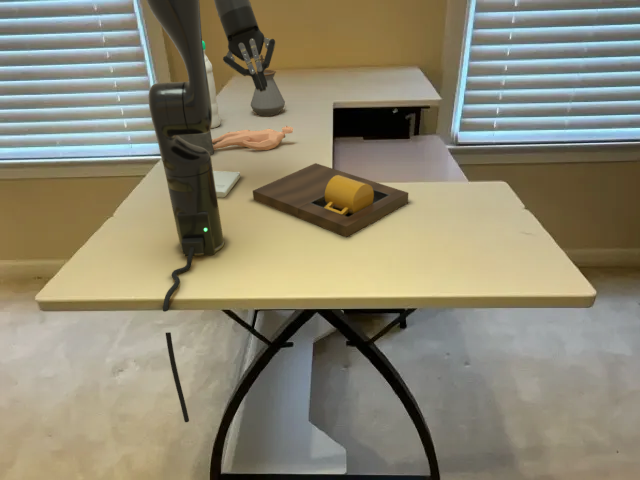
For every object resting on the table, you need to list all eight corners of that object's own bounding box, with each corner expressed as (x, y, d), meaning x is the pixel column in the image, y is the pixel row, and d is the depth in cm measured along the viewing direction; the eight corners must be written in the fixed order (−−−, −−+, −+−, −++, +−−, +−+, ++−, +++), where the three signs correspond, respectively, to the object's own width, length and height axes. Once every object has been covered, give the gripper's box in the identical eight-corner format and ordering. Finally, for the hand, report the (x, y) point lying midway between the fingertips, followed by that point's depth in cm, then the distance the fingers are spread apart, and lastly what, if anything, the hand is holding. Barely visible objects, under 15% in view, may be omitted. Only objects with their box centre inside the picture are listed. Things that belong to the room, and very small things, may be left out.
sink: (309, 212, 138) (308, 202, 137) (351, 191, 147) (351, 181, 146) (348, 227, 132) (348, 217, 130) (390, 204, 140) (390, 194, 139)
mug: (341, 168, 137) (370, 177, 132) (349, 193, 142) (376, 203, 137) (314, 195, 133) (342, 205, 129) (322, 219, 139) (350, 230, 134)
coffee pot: (287, 116, 197) (283, 67, 188) (252, 119, 196) (247, 70, 187) (281, 98, 214) (278, 53, 205) (249, 100, 213) (244, 55, 204)
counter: (253, 200, 145) (252, 190, 144) (315, 172, 158) (315, 163, 156) (346, 237, 128) (346, 226, 127) (408, 202, 141) (408, 192, 139)
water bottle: (194, 126, 192) (180, 41, 177) (212, 120, 196) (199, 37, 181) (206, 131, 188) (193, 44, 173) (225, 125, 192) (213, 40, 177)
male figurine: (210, 129, 178) (293, 119, 177) (214, 146, 181) (295, 135, 180) (205, 142, 170) (292, 131, 168) (209, 159, 173) (294, 148, 171)
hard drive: (240, 177, 157) (225, 197, 147) (211, 176, 158) (194, 196, 148) (240, 171, 156) (224, 191, 146) (210, 170, 157) (193, 189, 147)
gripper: (205, 18, 129) (234, 98, 133) (262, -4, 129) (290, 77, 133) (209, 26, 136) (237, 103, 140) (264, 6, 136) (290, 83, 140)
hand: (263, 90), depth 137 cm, fingers closed
